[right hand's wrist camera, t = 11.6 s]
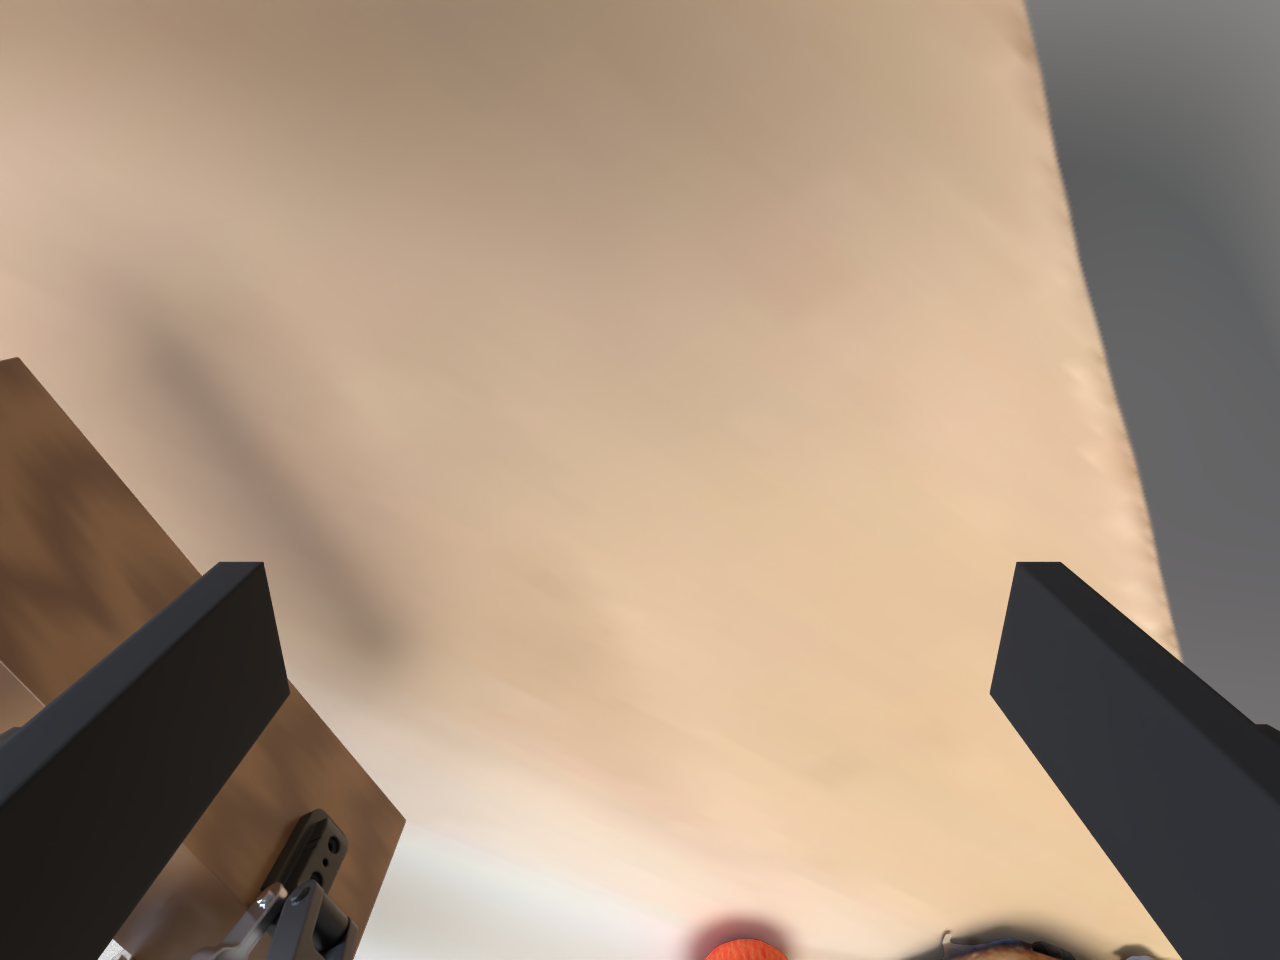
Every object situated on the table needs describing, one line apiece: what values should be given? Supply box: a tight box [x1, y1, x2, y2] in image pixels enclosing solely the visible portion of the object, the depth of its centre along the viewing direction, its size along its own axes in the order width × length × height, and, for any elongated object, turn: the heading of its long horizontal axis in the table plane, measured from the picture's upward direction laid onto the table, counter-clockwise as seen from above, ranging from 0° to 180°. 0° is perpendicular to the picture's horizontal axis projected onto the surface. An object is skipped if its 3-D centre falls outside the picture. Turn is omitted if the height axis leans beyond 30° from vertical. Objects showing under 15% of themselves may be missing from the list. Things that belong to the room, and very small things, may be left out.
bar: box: [0, 357, 406, 960], centre depth 27 cm, size 25×5×8 cm, turn 28°
